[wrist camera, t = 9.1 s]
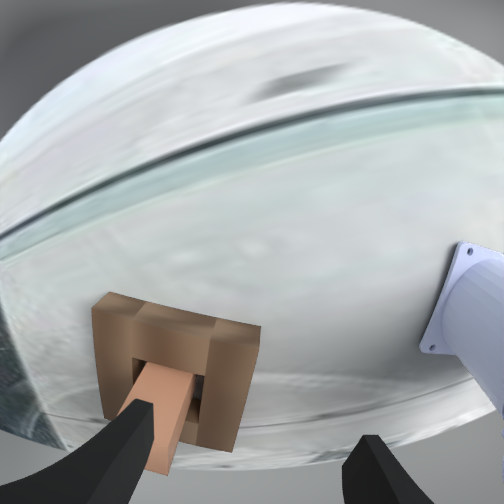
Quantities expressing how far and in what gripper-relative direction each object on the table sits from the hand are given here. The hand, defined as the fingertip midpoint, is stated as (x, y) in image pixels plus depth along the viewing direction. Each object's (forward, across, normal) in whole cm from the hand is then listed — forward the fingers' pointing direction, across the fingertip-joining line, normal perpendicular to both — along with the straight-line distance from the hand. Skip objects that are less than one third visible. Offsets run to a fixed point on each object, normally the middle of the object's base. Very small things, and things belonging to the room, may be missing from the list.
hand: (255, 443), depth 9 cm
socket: (+10, +5, +6) cm, 13 cm away
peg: (+10, +5, +6) cm, 12 cm away
